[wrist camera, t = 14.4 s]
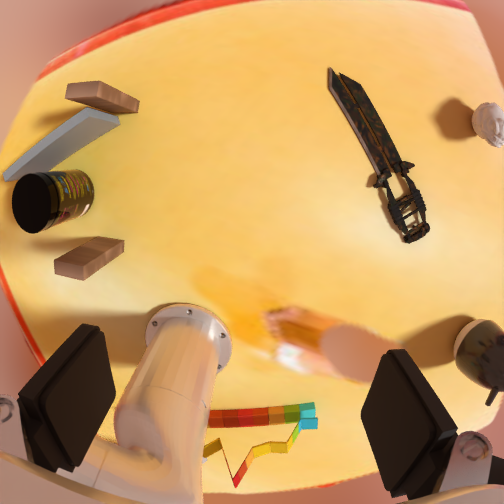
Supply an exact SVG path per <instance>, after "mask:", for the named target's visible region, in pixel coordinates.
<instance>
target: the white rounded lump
mask: <svg viewBox="0 0 504 504" xmlns="http://www.w3.org/2000/svg"><path fill="white" fill-rule="evenodd" d="M472 126H473V129H474V131H475V132H476V134H477V135H478V136H479V137H481V138H482V139H485V140H486V141H487V142H488V143H489V144H490V145H491V146H494V147H498V148H500V147H501V146H502V145H503V144H504V113H503V111H502V109H501V108H500V107H499V106H498V105H497V104H496V103H483V104H481V105H480V106H479V107H478V108H477V109H476V110H475V111H474V113H473V115H472Z"/></svg>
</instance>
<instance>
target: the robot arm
mask: <svg viewBox="0 0 504 504" xmlns="http://www.w3.org/2000/svg"><path fill="white" fill-rule="evenodd" d="M189 309H190V310H191V311H190V310H189ZM223 333H224V334H223ZM145 342H146V346H147V349H146V351H145V353H144V355H143V357H142V358H141V360H140V362H139V364H138V366H137V368H136V369H135V371H134V373H133V375H132V377H131V379H130V381H129V382H128V384H127V386H126V388H125V390H124V392H123V394H122V396H121V398H120V400H119V402H118V404H117V406H116V409H115V413H114V431H115V436H116V439H117V442H118V445H117V444H115V443H112V442H110V441H108V440H106V439H104V438H102V437H100V436H98V435H96V434H97V432H98V430H99V428H100V426H101V424H102V422H103V420H104V418H105V416H106V414H107V413H108V411H109V409H110V407H111V405H112V403H113V401H114V399H115V396H116V390H115V385H114V381H113V377H112V372H111V367H110V363H109V358H108V352H107V347H106V342H105V336H104V333H103V332H102V331H100V329H99V327H98V326H94V325H89V324H81V325H80V326H79V327H78V328H77V329H76V330H75V331H74V332H73V333H72V335H71V336H70V337H69V338H68V339H67V340H66V341H65V342H64V343H63V344H62V345H61V346H60V347H59V348H58V349H57V350H56V351H55V353H54V354H53V355H52V356H51V357H50V358H49V359H48V360H47V361H46V362H45V363H44V365H43V366H42V367H41V368H40V369H39V370H38V371H37V373H36V374H35V375H34V376H33V377H32V378H31V379H30V380H29V382H28V383H27V384H26V385H25V386H24V387H23V388H22V390H21V391H20V392H19V393H18V395H19V398H18V399H17V401H16V400H15V399H14V398H13V397H11V396H9V395H5V394H0V504H204V503H203V492H202V457H203V449H204V442H205V436H206V430H207V425H208V419H209V413H210V407H211V402H212V396H213V390H214V385H215V379H216V374H217V373H219V372H220V371H222V370H223V369H224V367H225V366H226V365H227V363H228V362H229V360H230V356H231V352H232V339H231V336H230V333H229V331H228V329H227V327H226V326H225V324H224V323H223V322H222V321H221V320H220V319H219V318H218V317H217V316H216V315H215V314H213V313H212V312H210V311H208V310H207V309H204V308H202V307H199V306H196V305H192V304H173V305H170V306H167V307H164V308H162V309H161V310H159V311H158V312H157V313H156V314H155V315H154V316H153V317H152V318H151V320H150V321H149V323H148V326H147V328H146V333H145ZM361 420H362V423H363V425H364V428H365V431H366V434H367V437H368V440H369V442H370V445H371V448H372V451H373V454H374V457H375V460H376V463H377V466H378V469H379V472H380V475H381V478H382V481H383V484H384V487H385V489H386V490H387V491H390V493H391V496H392V498H395V497H399V496H403V495H407V497H408V501H406V502H402V503H397V504H504V459H502V458H499V457H496V456H493V455H492V453H493V452H492V445H491V443H490V441H489V440H488V439H487V438H486V437H485V436H484V435H482V434H480V433H478V432H474V431H466V432H463V433H461V434H460V435H459V436H458V434H457V433H456V431H457V429H458V427H457V426H456V424H455V423H454V421H453V419H452V418H451V416H450V415H449V413H448V412H447V410H446V408H445V407H444V405H443V404H442V402H441V401H440V399H439V398H438V396H437V395H436V393H435V392H434V390H433V389H432V387H431V386H430V384H429V383H428V381H427V380H426V378H425V377H424V376H423V374H422V373H421V371H420V370H419V368H418V367H417V365H416V364H415V363H414V361H413V360H412V358H411V357H410V355H409V354H408V353H407V351H406V350H405V349H394V350H388V351H387V353H386V354H384V355H383V356H382V357H381V360H380V363H379V366H378V369H377V371H376V374H375V377H374V380H373V382H372V385H371V387H370V390H369V393H368V395H367V398H366V400H365V403H364V405H363V407H362V410H361Z"/></svg>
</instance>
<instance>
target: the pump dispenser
mask: <svg viewBox="0 0 504 504" xmlns="http://www.w3.org/2000/svg"><path fill="white" fill-rule="evenodd" d="M454 358H455V361H456V366H457V368H458V369H459V370H460V371H461V372H462V373H463V374H464V375H465V376H466V377H467V378H469V379H470V380H471V381H473V382H474V383H476V384H477V385H479V386H481V387H483V388H486V389H489V390H491V391H490V394H489V396H488V398H487V400H486V403H485V404H486V405H487V406H490V405H491V404H492V402H493V400H494V399H495V397H496V395H497V393H498V392H504V331H503V330H502V328H501V327H500V326H499V325H498V324H497V323H495V322H494V321H492V320H484V319H478V320H474V321H472V322H470V323H468V324H467V325H466V326H465V327H464V328H463V329H462V330H461V331H460V333H459V334H458V336H457V338H456V341H455V344H454Z"/></svg>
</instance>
